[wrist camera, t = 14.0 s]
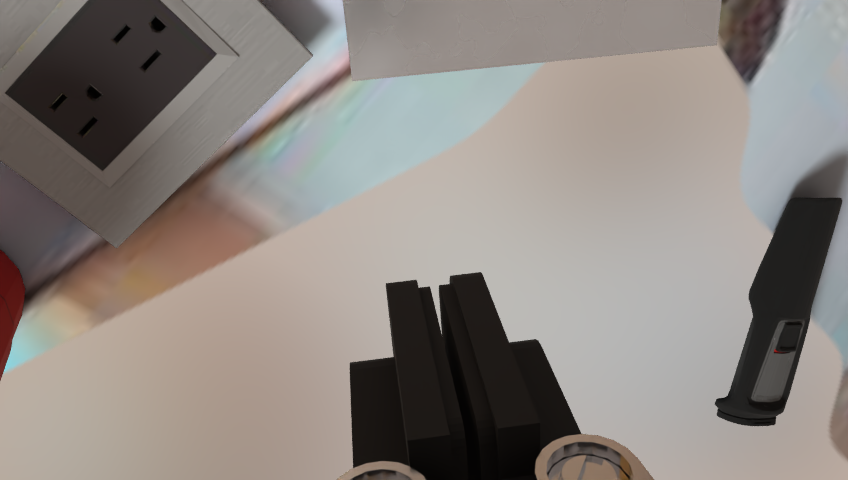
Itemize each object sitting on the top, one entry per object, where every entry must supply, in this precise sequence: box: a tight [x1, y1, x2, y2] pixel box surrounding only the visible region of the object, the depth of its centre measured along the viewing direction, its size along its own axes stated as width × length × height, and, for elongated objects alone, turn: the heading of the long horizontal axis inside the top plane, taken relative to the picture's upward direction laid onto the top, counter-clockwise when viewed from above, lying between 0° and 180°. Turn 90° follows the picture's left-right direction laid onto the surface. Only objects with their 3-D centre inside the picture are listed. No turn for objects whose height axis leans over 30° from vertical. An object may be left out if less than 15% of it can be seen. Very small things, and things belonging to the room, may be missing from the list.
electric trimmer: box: [715, 198, 842, 426], centre depth 41 cm, size 4×16×3 cm, turn 177°
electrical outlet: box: [0, 0, 313, 248], centre depth 31 cm, size 13×10×2 cm
